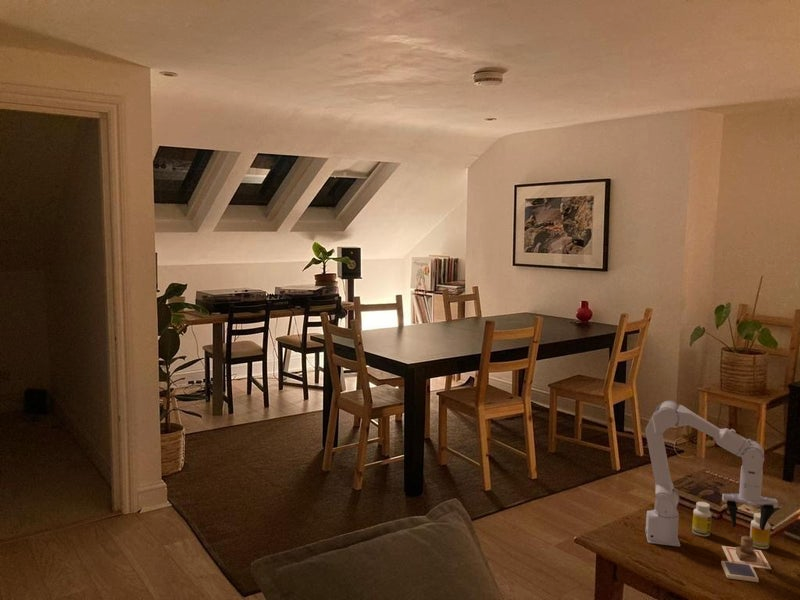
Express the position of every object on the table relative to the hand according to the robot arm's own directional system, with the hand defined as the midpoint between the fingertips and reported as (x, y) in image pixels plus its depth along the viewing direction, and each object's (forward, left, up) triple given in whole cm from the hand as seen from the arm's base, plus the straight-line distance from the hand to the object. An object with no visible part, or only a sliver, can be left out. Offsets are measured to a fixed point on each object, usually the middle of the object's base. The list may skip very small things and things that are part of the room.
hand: (747, 527), depth 193 cm
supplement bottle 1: (-10, +13, -10) cm, 19 cm away
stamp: (0, 0, -9) cm, 9 cm away
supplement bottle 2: (+6, +9, -10) cm, 15 cm away
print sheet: (0, 0, -10) cm, 10 cm away
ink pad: (-4, -10, -10) cm, 14 cm away
